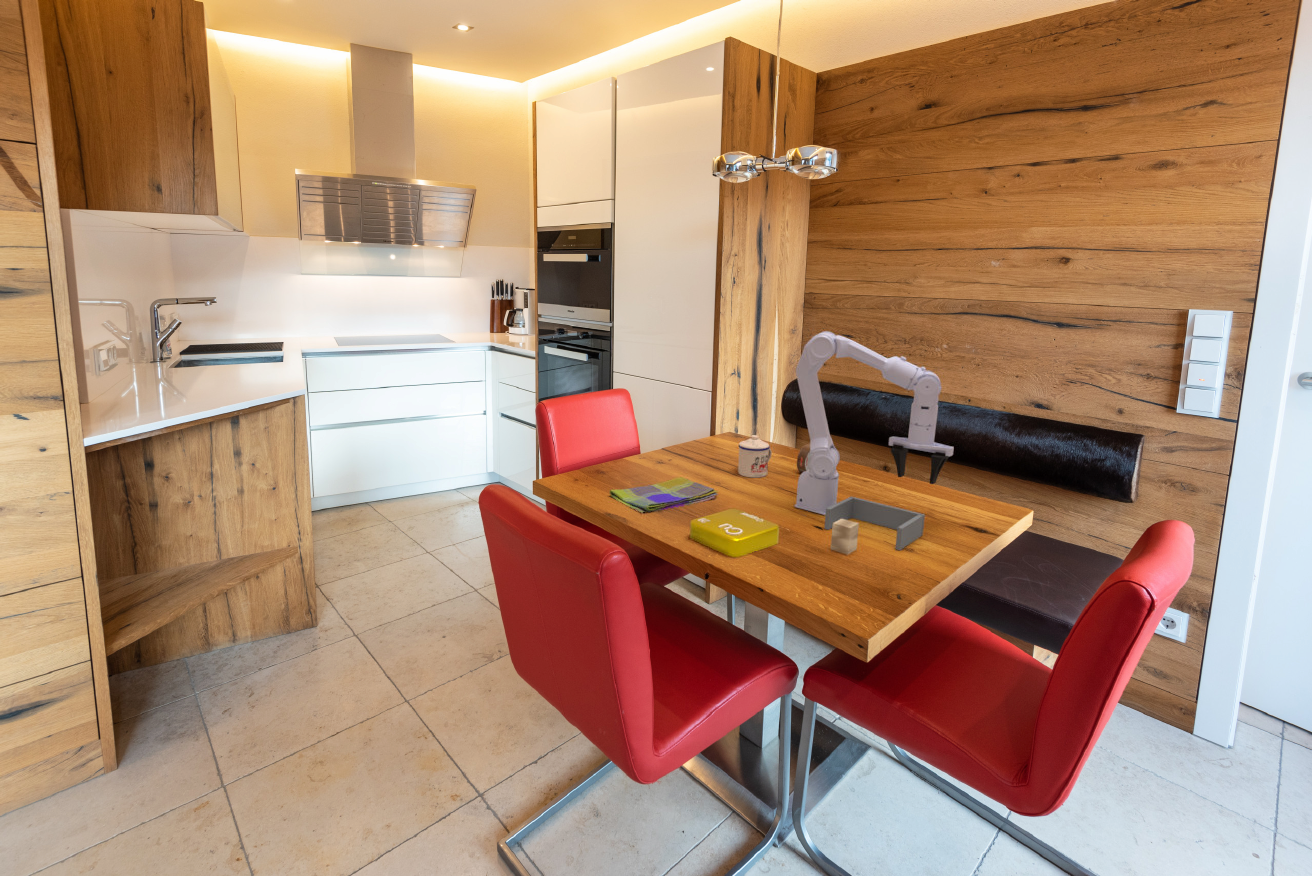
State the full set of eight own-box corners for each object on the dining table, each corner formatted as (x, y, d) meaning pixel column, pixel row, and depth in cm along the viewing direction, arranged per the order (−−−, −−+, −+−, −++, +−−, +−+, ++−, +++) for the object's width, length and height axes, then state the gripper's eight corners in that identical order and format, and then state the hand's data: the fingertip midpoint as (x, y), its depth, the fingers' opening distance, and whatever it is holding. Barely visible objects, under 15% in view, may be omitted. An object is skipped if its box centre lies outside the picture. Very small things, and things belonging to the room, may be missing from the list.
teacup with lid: (753, 480, 192) (755, 440, 190) (730, 472, 199) (732, 434, 196) (781, 473, 200) (783, 435, 197) (758, 466, 206) (760, 429, 204)
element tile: (782, 544, 147) (783, 523, 146) (734, 560, 138) (735, 539, 137) (733, 524, 159) (734, 505, 157) (686, 538, 149) (686, 518, 148)
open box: (824, 528, 155) (825, 508, 154) (849, 515, 164) (851, 496, 163) (899, 550, 144) (902, 528, 142) (922, 535, 153) (924, 514, 151)
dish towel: (607, 497, 177) (607, 487, 176) (681, 483, 190) (681, 473, 190) (642, 516, 163) (643, 505, 162) (720, 500, 176) (720, 490, 175)
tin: (817, 464, 210) (819, 438, 208) (827, 466, 208) (829, 439, 206) (794, 474, 199) (796, 446, 197) (804, 476, 197) (806, 448, 195)
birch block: (830, 549, 144) (832, 523, 142) (839, 544, 147) (841, 518, 145) (847, 554, 141) (850, 528, 140) (856, 549, 144) (858, 523, 143)
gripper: (885, 421, 158) (880, 476, 161) (948, 431, 148) (941, 489, 151) (898, 417, 163) (892, 470, 166) (959, 426, 153) (952, 483, 157)
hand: (916, 479), depth 159 cm, fingers open, 7 cm apart
